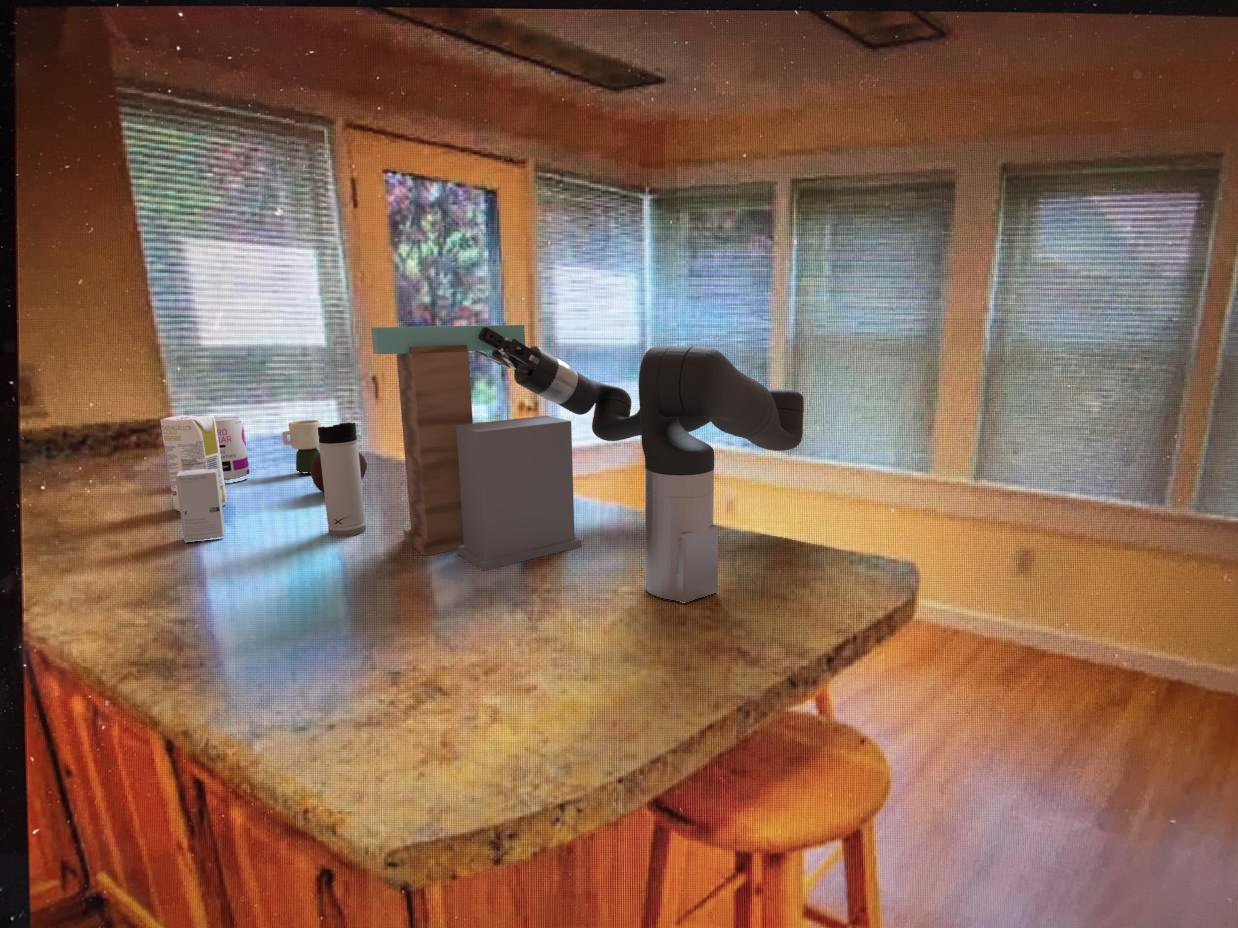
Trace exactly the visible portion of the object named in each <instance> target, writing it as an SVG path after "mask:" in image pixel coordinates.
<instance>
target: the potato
mask: <svg viewBox="0 0 1238 928" xmlns="http://www.w3.org/2000/svg"><path fill="white" fill-rule="evenodd" d="M359 462H360V472H361V481H363V479H364V476H365V475H366V472H367V470H368V469H367V467H368V463H367V461H366V458H365V456H364V455H363V454H362V453H360V452H359ZM310 476H311V478H312V481H313V484H314V485H315V486H316V488H317V489H318V490H319V491H320V492H321V493H323V494H324V485H323V476H322V467H321V458H320V453H319V454H318V455H317V456H316V458H315V459H314V460H313V463H312V466H311V473H310Z"/></svg>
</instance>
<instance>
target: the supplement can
mask: <svg viewBox="0 0 1238 928" xmlns="http://www.w3.org/2000/svg"><path fill="white" fill-rule="evenodd" d="M215 423H216V428H217V434H218V441H219V448H220V455H221V462H222V469H223V476H224V480H230V479H236V478H240V477H243V476H246V475H247V474H249V473H250V474H251V472H250V465H249V457H248V451H247V443H246V436H245V429H244V428H245V427H244V423H243V421H242V420H241V419H240V417H239V416H220V417H215Z"/></svg>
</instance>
